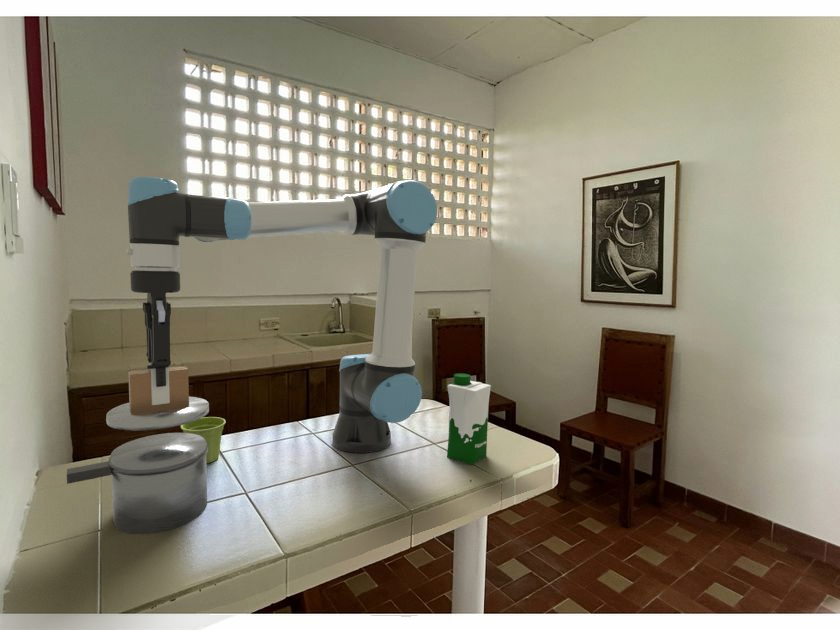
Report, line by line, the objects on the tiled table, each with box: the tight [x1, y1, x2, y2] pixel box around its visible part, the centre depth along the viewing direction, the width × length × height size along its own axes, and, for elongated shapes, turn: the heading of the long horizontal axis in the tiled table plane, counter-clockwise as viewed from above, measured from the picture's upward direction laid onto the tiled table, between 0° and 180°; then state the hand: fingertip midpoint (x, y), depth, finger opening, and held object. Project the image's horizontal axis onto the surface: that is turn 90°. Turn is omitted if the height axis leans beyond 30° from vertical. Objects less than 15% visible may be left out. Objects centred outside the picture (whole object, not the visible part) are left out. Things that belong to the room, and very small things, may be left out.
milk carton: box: [446, 372, 492, 466], centre depth 111 cm, size 9×9×20 cm
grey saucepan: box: [66, 432, 208, 535], centre depth 82 cm, size 21×16×12 cm
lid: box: [105, 365, 210, 432], centre depth 82 cm, size 16×16×8 cm
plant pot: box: [180, 416, 227, 464], centre depth 107 cm, size 9×9×9 cm
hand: (159, 400), depth 83 cm, fingers closed on lid, 3 cm apart
